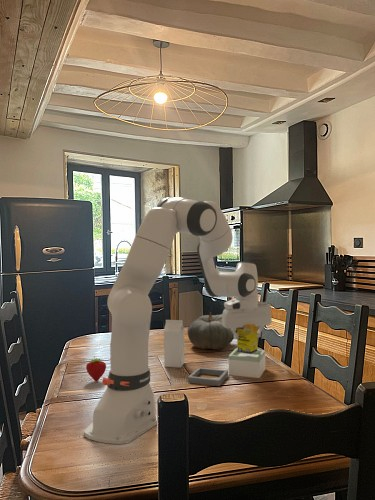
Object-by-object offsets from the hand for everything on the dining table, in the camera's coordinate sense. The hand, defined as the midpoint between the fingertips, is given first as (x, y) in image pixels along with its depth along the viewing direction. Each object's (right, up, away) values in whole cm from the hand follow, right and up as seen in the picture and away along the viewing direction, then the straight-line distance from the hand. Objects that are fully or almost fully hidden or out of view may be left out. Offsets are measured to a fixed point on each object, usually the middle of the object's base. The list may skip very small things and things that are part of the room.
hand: (247, 337), depth 158 cm
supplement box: (0, -6, 0) cm, 6 cm away
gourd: (-11, -13, +40) cm, 44 cm away
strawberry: (-58, -15, -8) cm, 60 cm away
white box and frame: (-8, -14, -4) cm, 16 cm away
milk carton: (-29, -14, +11) cm, 34 cm away
